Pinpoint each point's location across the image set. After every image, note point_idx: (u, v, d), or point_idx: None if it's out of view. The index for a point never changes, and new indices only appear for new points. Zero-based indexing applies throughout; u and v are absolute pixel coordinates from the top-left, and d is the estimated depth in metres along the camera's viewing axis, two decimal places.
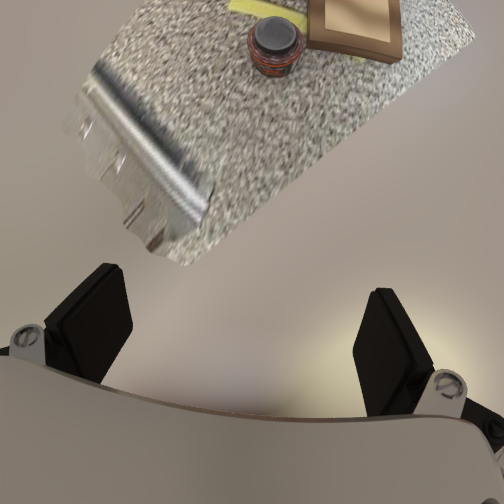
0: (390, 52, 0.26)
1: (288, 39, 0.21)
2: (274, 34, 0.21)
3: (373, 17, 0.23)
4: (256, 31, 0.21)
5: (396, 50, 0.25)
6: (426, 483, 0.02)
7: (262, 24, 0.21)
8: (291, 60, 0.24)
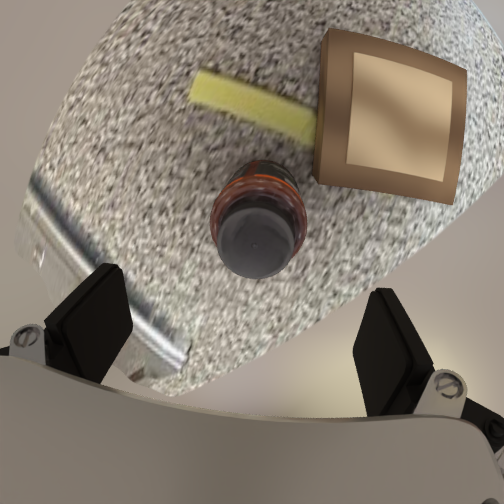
0: (439, 196, 0.19)
1: (278, 260, 0.15)
2: (252, 250, 0.15)
3: (426, 134, 0.17)
4: (219, 243, 0.15)
5: (448, 192, 0.19)
6: (426, 483, 0.02)
7: (230, 228, 0.14)
8: None
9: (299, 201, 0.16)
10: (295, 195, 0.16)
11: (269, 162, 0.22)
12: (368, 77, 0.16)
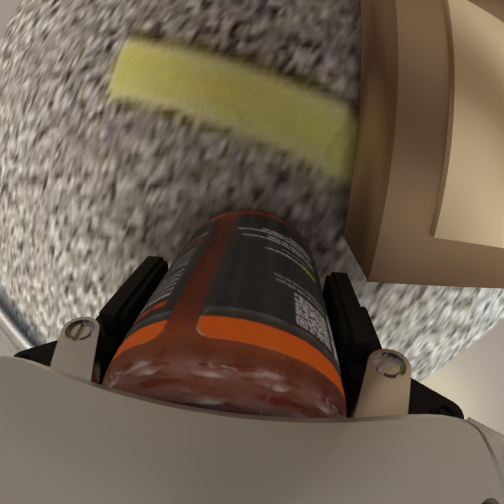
0: None
1: None
2: None
3: None
4: None
5: None
6: (426, 483, 0.02)
7: None
8: None
9: (336, 407, 0.05)
10: (326, 394, 0.05)
11: (258, 219, 0.10)
12: (479, 44, 0.05)
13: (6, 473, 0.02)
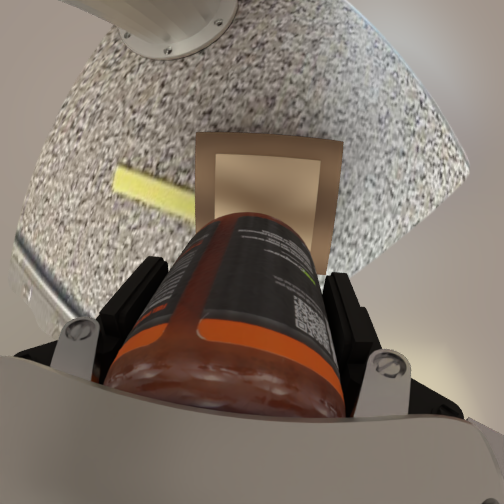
0: None
1: None
2: None
3: (288, 218, 0.24)
4: None
5: (318, 264, 0.26)
6: (426, 483, 0.02)
7: None
8: None
9: (335, 409, 0.05)
10: (325, 397, 0.05)
11: (258, 221, 0.10)
12: (228, 175, 0.23)
13: (6, 473, 0.02)
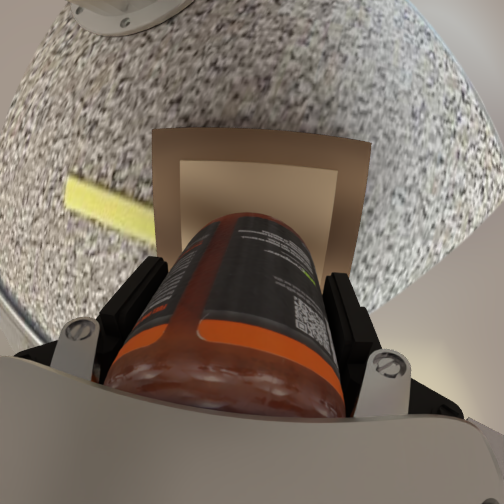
0: None
1: None
2: None
3: None
4: None
5: None
6: (426, 483, 0.02)
7: None
8: None
9: (335, 410, 0.05)
10: (326, 397, 0.05)
11: (258, 222, 0.10)
12: (199, 192, 0.15)
13: (6, 473, 0.02)
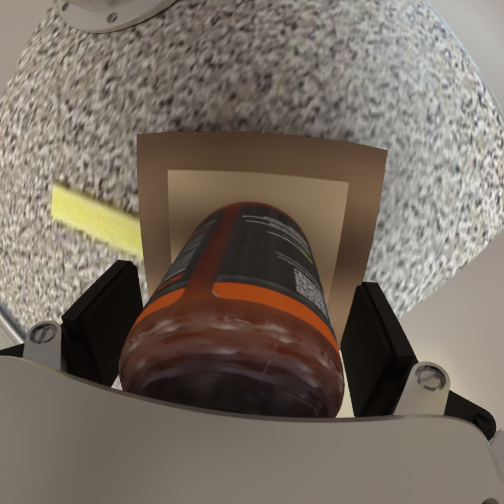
0: None
1: None
2: None
3: None
4: None
5: None
6: (426, 483, 0.02)
7: None
8: None
9: (334, 363, 0.06)
10: (325, 350, 0.06)
11: (260, 209, 0.11)
12: (190, 207, 0.13)
13: (6, 473, 0.02)
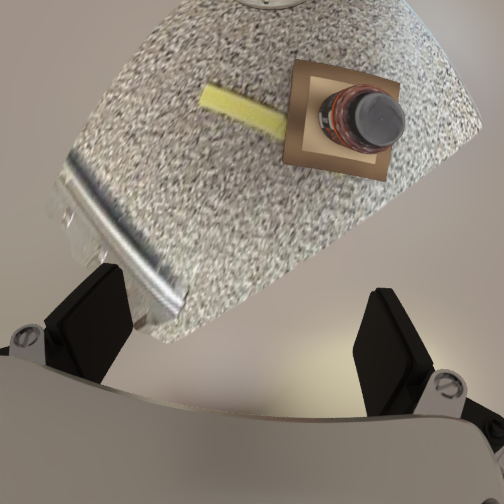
0: (373, 175, 0.29)
1: (395, 132, 0.17)
2: (379, 122, 0.17)
3: None
4: (358, 113, 0.17)
5: (380, 171, 0.29)
6: (426, 483, 0.02)
7: (366, 103, 0.16)
8: (384, 150, 0.20)
9: None
10: None
11: None
12: (319, 93, 0.26)
13: (6, 473, 0.02)
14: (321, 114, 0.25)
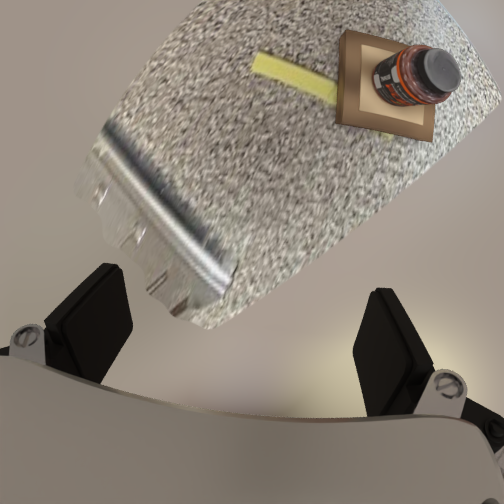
0: (422, 135, 0.28)
1: (455, 81, 0.15)
2: (443, 71, 0.15)
3: None
4: (426, 62, 0.15)
5: (427, 132, 0.27)
6: (426, 483, 0.02)
7: (431, 55, 0.15)
8: None
9: None
10: None
11: None
12: (370, 59, 0.25)
13: (6, 473, 0.02)
14: (378, 75, 0.23)
